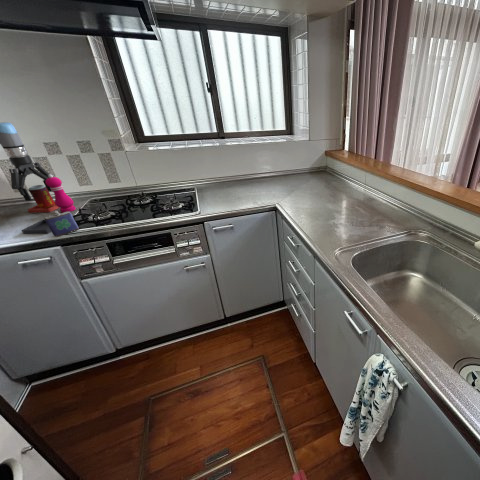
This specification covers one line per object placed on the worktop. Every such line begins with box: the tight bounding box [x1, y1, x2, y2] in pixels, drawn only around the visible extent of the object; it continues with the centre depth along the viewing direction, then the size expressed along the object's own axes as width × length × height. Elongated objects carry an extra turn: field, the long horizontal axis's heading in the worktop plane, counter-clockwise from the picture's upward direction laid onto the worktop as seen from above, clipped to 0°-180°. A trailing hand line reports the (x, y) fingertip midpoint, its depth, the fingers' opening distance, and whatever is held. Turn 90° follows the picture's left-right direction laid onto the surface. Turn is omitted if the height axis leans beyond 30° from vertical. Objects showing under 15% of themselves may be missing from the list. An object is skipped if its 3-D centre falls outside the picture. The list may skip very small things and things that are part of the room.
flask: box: [43, 210, 80, 238], centre depth 121 cm, size 9×3×11 cm, turn 144°
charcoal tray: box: [21, 219, 52, 235], centre depth 127 cm, size 11×11×2 cm
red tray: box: [26, 200, 60, 214], centre depth 148 cm, size 11×11×2 cm
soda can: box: [27, 184, 55, 209], centre depth 145 cm, size 7×7×12 cm
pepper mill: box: [46, 173, 77, 213], centre depth 141 cm, size 7×7×20 cm
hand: (40, 195), depth 145 cm, fingers open, 13 cm apart
